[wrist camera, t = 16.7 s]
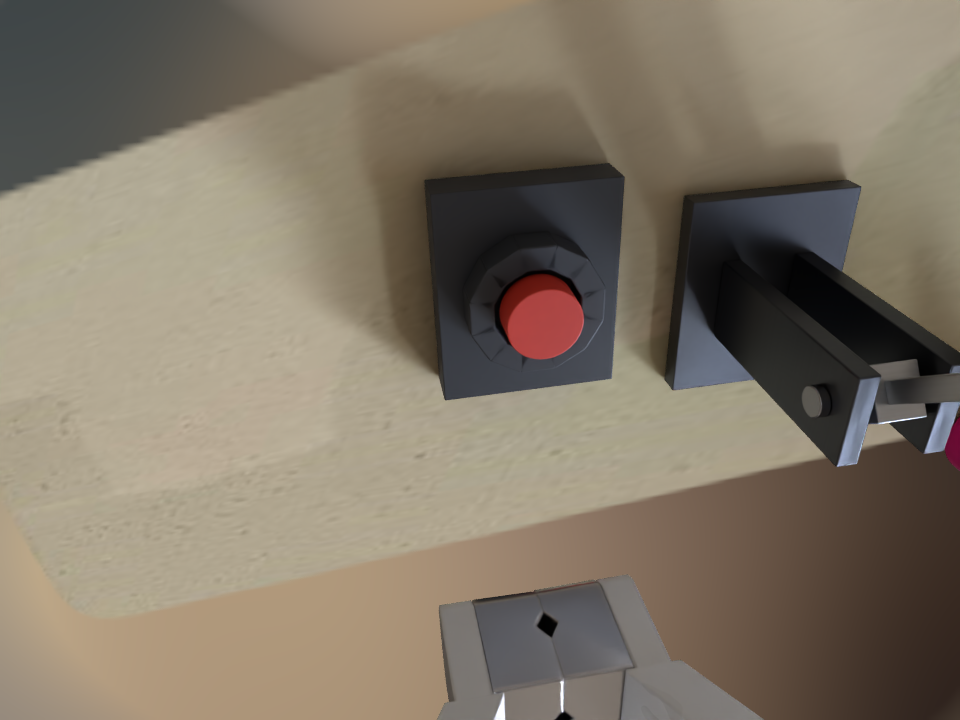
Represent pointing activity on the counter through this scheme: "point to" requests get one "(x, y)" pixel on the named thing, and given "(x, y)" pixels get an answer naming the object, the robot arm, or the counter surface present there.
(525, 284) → the button
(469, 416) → the counter surface
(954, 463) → the pepper mill
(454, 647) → the robot arm
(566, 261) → the control block
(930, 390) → the lever
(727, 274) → the bracket
